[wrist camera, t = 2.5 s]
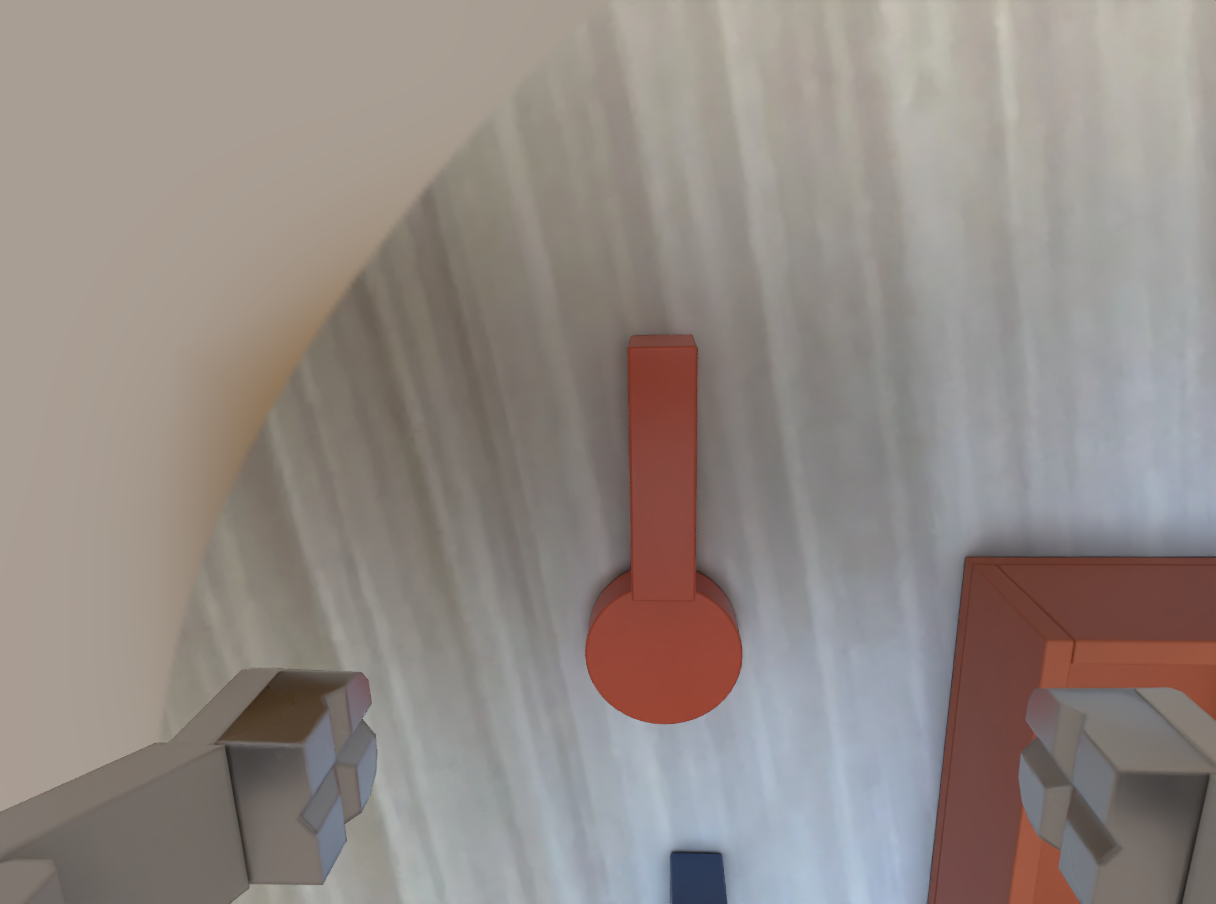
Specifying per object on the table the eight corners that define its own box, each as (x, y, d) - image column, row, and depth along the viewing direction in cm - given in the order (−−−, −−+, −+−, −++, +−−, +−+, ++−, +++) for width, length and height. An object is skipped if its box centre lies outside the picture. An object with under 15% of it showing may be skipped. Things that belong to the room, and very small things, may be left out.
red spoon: (579, 335, 20) (570, 347, 18) (744, 333, 20) (755, 344, 17) (591, 695, 23) (585, 742, 20) (735, 696, 22) (744, 744, 20)
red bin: (919, 968, 25) (977, 1124, 20) (964, 556, 21) (1046, 640, 16) (1170, 976, 24) (1284, 1137, 20) (1264, 556, 20) (1428, 643, 16)
